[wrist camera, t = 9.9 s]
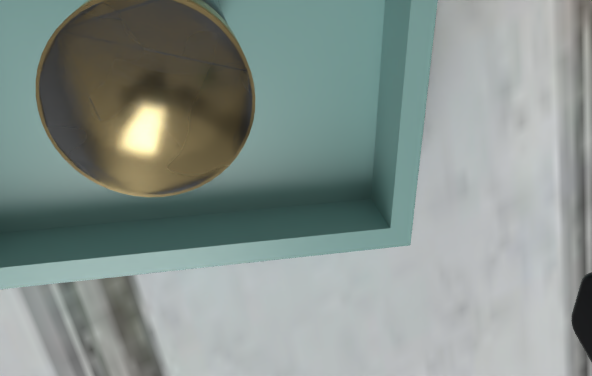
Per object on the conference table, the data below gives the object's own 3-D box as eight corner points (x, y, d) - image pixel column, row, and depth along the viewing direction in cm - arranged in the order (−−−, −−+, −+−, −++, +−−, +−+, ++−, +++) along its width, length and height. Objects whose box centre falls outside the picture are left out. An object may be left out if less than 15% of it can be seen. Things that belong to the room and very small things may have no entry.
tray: (423, -294, 15) (475, -339, 12) (382, 205, 22) (410, 245, 19) (-226, -335, 12) (-338, -405, 10) (-34, 244, 19) (-68, 296, 17)
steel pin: (216, -47, 16) (251, -12, 8) (223, 64, 17) (258, 188, 9) (99, -46, 15) (11, -6, 7) (117, 69, 17) (59, 206, 9)
